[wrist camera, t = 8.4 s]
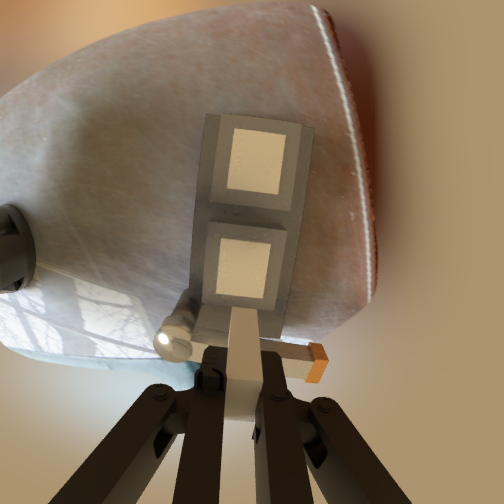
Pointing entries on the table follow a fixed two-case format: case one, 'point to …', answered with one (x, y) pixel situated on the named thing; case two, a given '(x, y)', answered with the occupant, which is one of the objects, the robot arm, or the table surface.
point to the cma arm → (199, 338)
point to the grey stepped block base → (246, 220)
